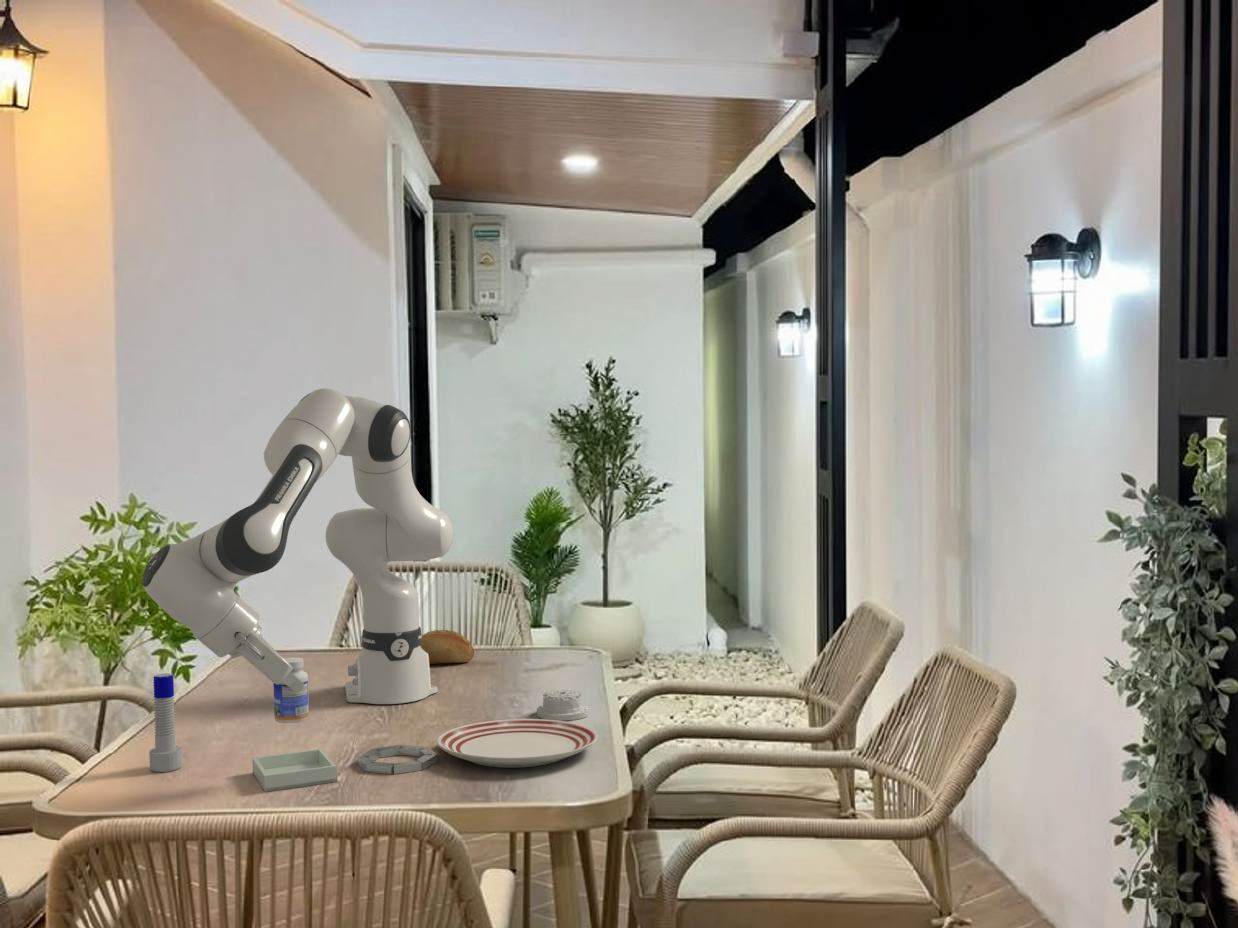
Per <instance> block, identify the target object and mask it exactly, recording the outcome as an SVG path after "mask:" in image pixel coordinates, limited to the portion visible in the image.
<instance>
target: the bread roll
mask: <svg viewBox="0 0 1238 928" xmlns="http://www.w3.org/2000/svg"><path fill="white" fill-rule="evenodd" d="M421 639H422V644H421V645H420V646H421V648H422V649H423V650H424V651H425V652H426V653H428V656H429V665H435V664H437V665H438V664H448V663H449V664H450V663H467V662H468V663H469V662H470V661H471V660H473V658H474V656H475V649H474V646H473V644H472V643H471V641H469V639H467V637H465V636H464V635H462V634H461V633H459V632H457V631H455V630H448V629H435V630H430V631H427V632H425V633H424V634H423V633H422V638H421Z"/></svg>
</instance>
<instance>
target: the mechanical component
mask: <svg viewBox="0 0 1238 928" xmlns="http://www.w3.org/2000/svg"><path fill="white" fill-rule="evenodd" d="M542 697H543V698H542V705H540V706H538V707H537V708H536V717H538V719H545V720H557V721H565V722H568V721H576V720H580V719H583V718H585V717H587V716H588V715H589V709H590V708H589V706H587V705H586V704H583V693H580V691H579V690H578V691H577V690H573V689H556V690H554V689H553V690H551V691H546V692H544V693H543V694H542Z"/></svg>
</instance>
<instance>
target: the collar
mask: <svg viewBox="0 0 1238 928" xmlns="http://www.w3.org/2000/svg"><path fill="white" fill-rule="evenodd" d="M401 755H402V756H409V757H411V756H412V757H419V758H417V759H415V760H410V761H404V762H403V761H402V762H395V763H393V762H392V763H390V762H381V761H376V760H378V759H381V758H386V757H387V758H388V757H393V756H401ZM437 760H438V753H436V752H435V751H433V749H431V748H430V747H428V746H419V745H412V744H411V745H410V744H397V745H389V746H383V747H382V746H381V747H376V748H371V749H369V750H367V751H365V752H364V753H361V754H360V755H358V756H357V765H358V766H359V767H360V768H361V769H362V770H363V771H364V772H366V773H374V774H386V775H397V774H405V773H412V772H419V771H422V770H426V769H427V768H429V767H431V766H432V765H434V764H436V763H437Z"/></svg>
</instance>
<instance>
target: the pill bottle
mask: <svg viewBox="0 0 1238 928" xmlns="http://www.w3.org/2000/svg"><path fill="white" fill-rule="evenodd" d="M283 658H284V659H285V660H286V661H287V662H288V663H289V664H290V665H291V666H292V668H293V669H292V671H291V672H292V673H293V674H294V675H295V676H296V677H297V678H298V679H299V680H300V681H301V682H303V683H304V687H303V688H302V689H301V690H300V691H299V692H295V691H294V690H292V689H291V688H290V687H289V686H287V685H286V684H284V683H283V682H281V683H280V684H275V683H273V682H272V683H273V709H274V710H273V711H274V713H273V714H274V721H275V722H277V723H278V724H279V723H280V724H295V723H301V722H304V721H307V720H308V719H309V717H310V711H309V709H310V708H309V706H310V705H309V704H310V703H309V675H308V673H307V672H306V671H304V670H303V669H304V664H305V663H304V658H302V657H295V656H294V657H283Z"/></svg>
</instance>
